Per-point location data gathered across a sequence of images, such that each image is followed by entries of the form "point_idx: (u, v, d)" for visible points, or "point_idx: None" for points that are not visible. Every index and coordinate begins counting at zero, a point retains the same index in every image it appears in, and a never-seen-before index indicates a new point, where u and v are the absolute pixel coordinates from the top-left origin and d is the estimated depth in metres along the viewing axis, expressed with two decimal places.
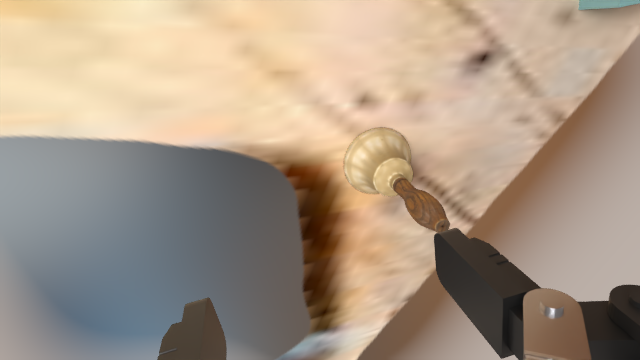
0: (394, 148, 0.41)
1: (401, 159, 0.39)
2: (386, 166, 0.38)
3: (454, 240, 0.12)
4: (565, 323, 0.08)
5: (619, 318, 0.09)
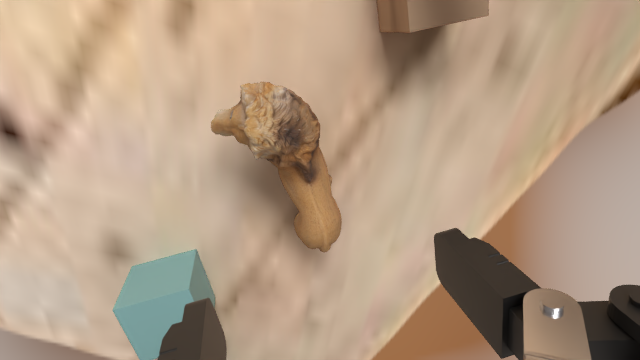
0: None
1: None
2: None
3: (454, 240, 0.12)
4: (565, 323, 0.08)
5: (619, 318, 0.09)
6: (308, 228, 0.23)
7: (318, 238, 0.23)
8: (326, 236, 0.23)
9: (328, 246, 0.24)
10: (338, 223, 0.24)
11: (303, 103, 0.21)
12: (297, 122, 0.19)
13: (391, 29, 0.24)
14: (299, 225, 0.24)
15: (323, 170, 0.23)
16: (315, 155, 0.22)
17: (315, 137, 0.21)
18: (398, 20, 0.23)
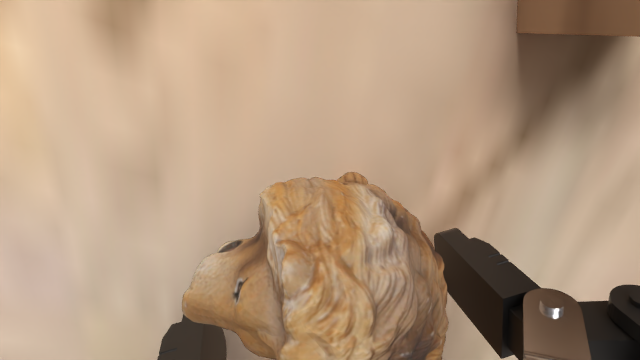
0: None
1: None
2: None
3: (454, 240, 0.12)
4: (565, 323, 0.08)
5: (619, 318, 0.09)
6: None
7: None
8: None
9: None
10: None
11: (411, 223, 0.09)
12: (427, 315, 0.06)
13: (564, 28, 0.11)
14: None
15: None
16: None
17: None
18: (601, 8, 0.10)
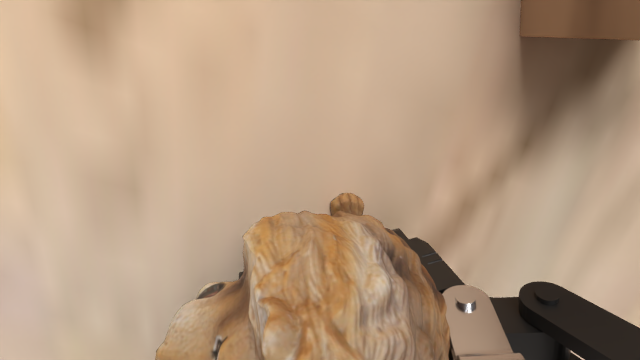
0: None
1: None
2: None
3: None
4: (473, 317, 0.09)
5: (532, 318, 0.09)
6: None
7: None
8: None
9: None
10: None
11: (411, 261, 0.08)
12: None
13: (572, 32, 0.11)
14: None
15: None
16: None
17: None
18: (613, 10, 0.09)
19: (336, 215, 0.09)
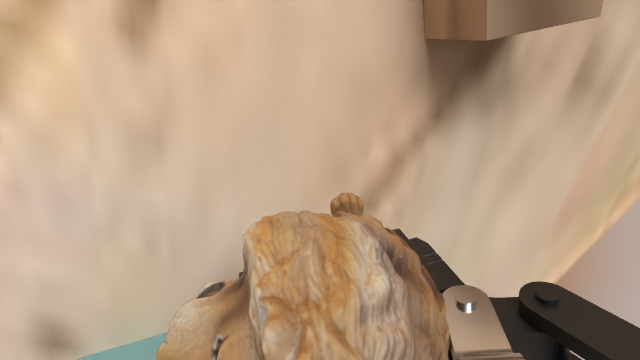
0: None
1: None
2: None
3: None
4: (473, 317, 0.09)
5: (532, 318, 0.09)
6: None
7: None
8: None
9: None
10: None
11: (411, 260, 0.08)
12: None
13: (447, 35, 0.16)
14: None
15: None
16: None
17: None
18: (463, 22, 0.15)
19: (336, 215, 0.09)
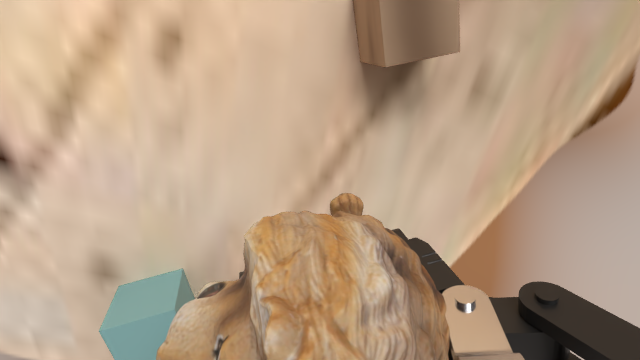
0: None
1: None
2: None
3: None
4: (473, 317, 0.09)
5: (532, 318, 0.09)
6: None
7: None
8: None
9: None
10: None
11: (411, 261, 0.08)
12: None
13: (369, 61, 0.25)
14: None
15: None
16: None
17: None
18: (375, 54, 0.24)
19: (336, 215, 0.09)
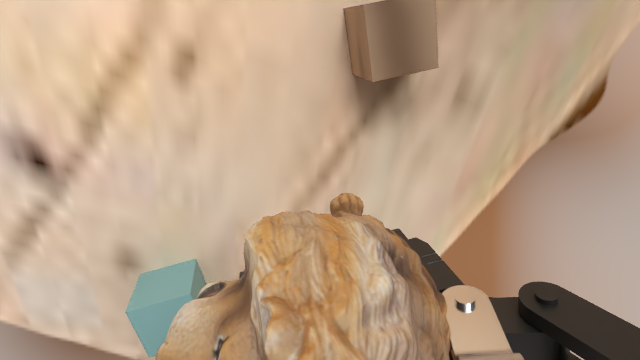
0: None
1: None
2: None
3: None
4: (472, 317, 0.09)
5: (531, 318, 0.09)
6: None
7: None
8: None
9: None
10: None
11: (412, 261, 0.08)
12: None
13: (360, 75, 0.28)
14: None
15: None
16: None
17: None
18: (364, 70, 0.27)
19: (336, 215, 0.09)
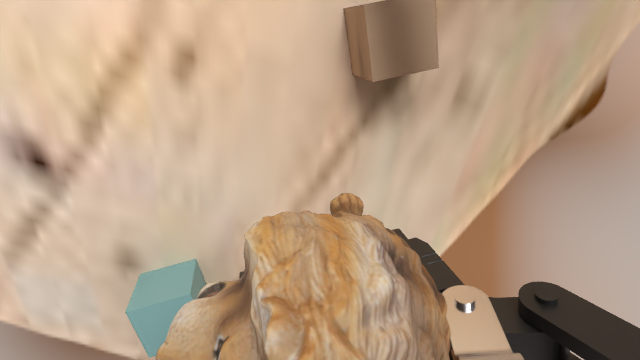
0: None
1: None
2: None
3: None
4: (472, 317, 0.09)
5: (531, 318, 0.09)
6: None
7: None
8: None
9: None
10: None
11: (412, 261, 0.08)
12: None
13: (360, 75, 0.28)
14: None
15: None
16: None
17: None
18: (364, 70, 0.27)
19: (337, 215, 0.09)
